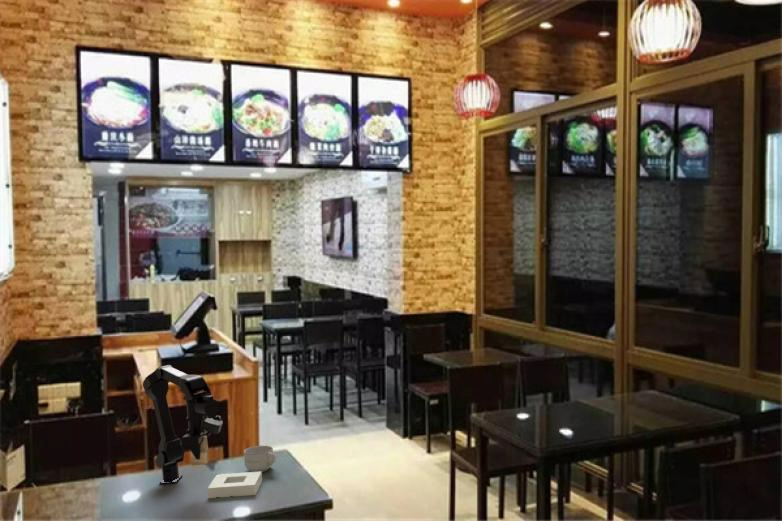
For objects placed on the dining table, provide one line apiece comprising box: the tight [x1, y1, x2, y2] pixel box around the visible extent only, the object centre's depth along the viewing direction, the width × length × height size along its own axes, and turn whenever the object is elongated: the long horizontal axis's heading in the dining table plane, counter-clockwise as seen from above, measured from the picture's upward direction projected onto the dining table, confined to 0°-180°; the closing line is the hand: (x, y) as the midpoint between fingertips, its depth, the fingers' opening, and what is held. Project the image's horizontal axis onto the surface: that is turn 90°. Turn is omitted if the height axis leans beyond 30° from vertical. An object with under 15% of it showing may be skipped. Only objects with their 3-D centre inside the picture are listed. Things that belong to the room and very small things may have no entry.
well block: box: [207, 471, 263, 499], centre depth 218 cm, size 12×16×4 cm
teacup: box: [243, 445, 277, 473], centre depth 234 cm, size 14×11×8 cm
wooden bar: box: [189, 436, 210, 466], centre depth 217 cm, size 4×5×9 cm
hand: (199, 457), depth 217 cm, fingers closed on wooden bar, 3 cm apart
